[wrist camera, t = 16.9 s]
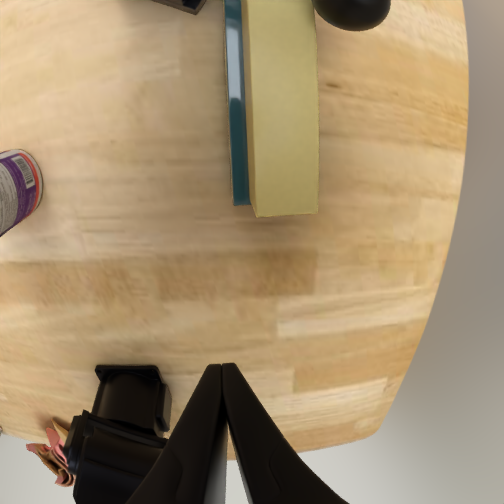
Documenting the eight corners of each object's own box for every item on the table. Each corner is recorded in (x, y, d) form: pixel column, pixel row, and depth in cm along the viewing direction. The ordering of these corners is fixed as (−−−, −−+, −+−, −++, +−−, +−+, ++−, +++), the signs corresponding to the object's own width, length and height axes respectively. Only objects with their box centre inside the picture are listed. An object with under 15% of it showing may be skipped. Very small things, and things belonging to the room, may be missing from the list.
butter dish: (231, 196, 20) (233, 206, 18) (222, -12, 14) (223, -25, 12) (308, 192, 21) (318, 201, 19) (302, -10, 14) (311, -21, 12)
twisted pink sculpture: (74, 409, 29) (107, 478, 26) (80, 414, 37) (107, 469, 33) (14, 425, 24) (46, 495, 21) (31, 427, 31) (57, 483, 28)
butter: (302, 197, 18) (318, 214, 16) (249, 200, 18) (256, 218, 15) (294, -21, 12) (309, -42, 9) (239, -23, 12) (244, -46, 9)
